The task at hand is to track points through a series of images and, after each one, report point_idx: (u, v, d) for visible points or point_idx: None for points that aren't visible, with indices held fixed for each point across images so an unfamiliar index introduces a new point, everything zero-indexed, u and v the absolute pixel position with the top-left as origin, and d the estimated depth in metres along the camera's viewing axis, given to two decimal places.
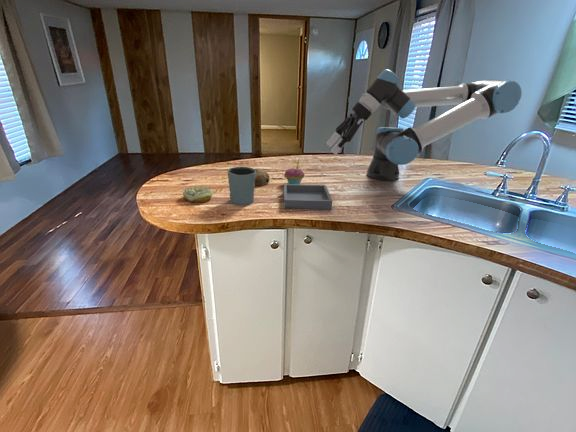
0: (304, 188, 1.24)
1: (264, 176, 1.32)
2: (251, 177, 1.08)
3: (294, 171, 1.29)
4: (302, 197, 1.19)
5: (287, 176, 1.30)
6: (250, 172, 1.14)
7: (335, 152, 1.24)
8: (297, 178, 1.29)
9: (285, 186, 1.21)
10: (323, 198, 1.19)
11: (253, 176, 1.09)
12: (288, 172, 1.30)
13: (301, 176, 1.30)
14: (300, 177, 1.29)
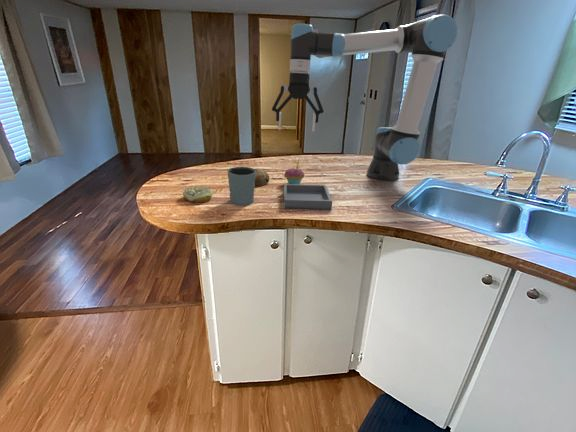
0: (304, 188, 1.24)
1: (264, 176, 1.32)
2: (251, 177, 1.08)
3: (294, 171, 1.29)
4: (302, 197, 1.19)
5: (287, 176, 1.30)
6: (250, 172, 1.14)
7: None
8: (297, 178, 1.29)
9: (285, 186, 1.21)
10: (323, 198, 1.19)
11: (253, 176, 1.09)
12: (288, 172, 1.30)
13: (301, 176, 1.30)
14: (300, 177, 1.29)
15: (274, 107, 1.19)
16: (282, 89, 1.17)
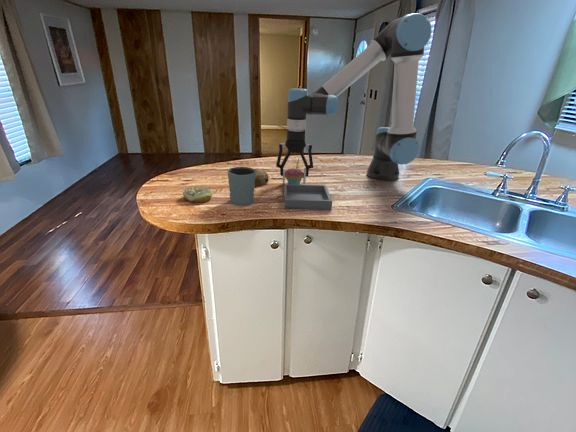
0: (304, 188, 1.24)
1: (263, 176, 1.32)
2: (251, 177, 1.08)
3: (293, 171, 1.29)
4: (302, 197, 1.19)
5: (287, 176, 1.30)
6: (250, 172, 1.14)
7: None
8: (297, 178, 1.29)
9: (285, 186, 1.21)
10: (323, 198, 1.19)
11: (253, 176, 1.09)
12: (288, 172, 1.30)
13: (301, 176, 1.30)
14: (300, 177, 1.29)
15: (278, 164, 1.29)
16: (280, 147, 1.26)
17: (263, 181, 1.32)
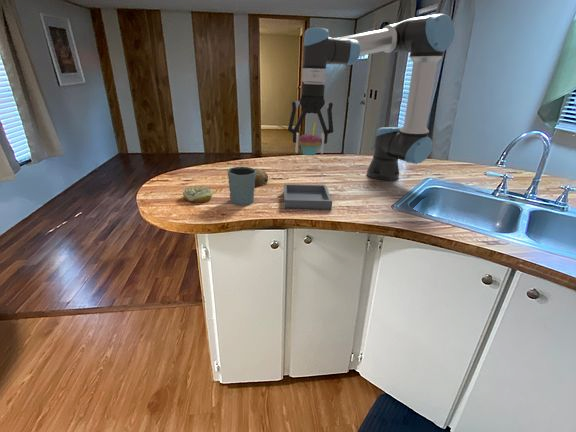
0: (304, 188, 1.24)
1: (263, 176, 1.32)
2: (251, 177, 1.08)
3: (309, 136, 1.06)
4: (302, 197, 1.19)
5: (301, 142, 1.06)
6: (250, 172, 1.14)
7: None
8: (313, 145, 1.05)
9: (285, 186, 1.21)
10: (323, 198, 1.19)
11: (253, 176, 1.09)
12: (302, 138, 1.06)
13: (318, 142, 1.06)
14: (317, 143, 1.06)
15: (290, 127, 1.05)
16: (294, 105, 1.02)
17: (262, 181, 1.32)
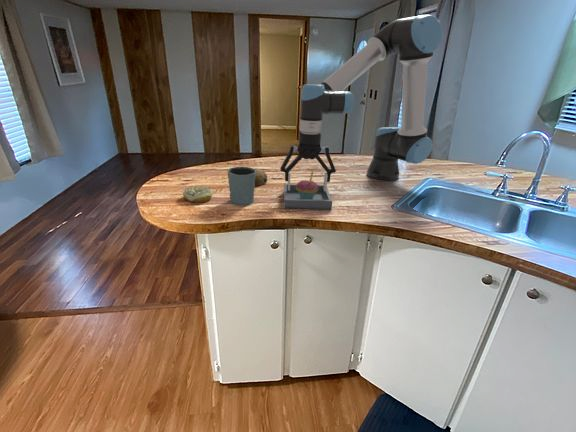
0: None
1: (262, 176, 1.32)
2: (251, 177, 1.08)
3: (307, 184, 1.13)
4: None
5: (299, 189, 1.13)
6: (250, 172, 1.14)
7: None
8: (311, 192, 1.12)
9: (285, 186, 1.21)
10: (323, 198, 1.19)
11: (253, 176, 1.09)
12: (300, 185, 1.13)
13: (315, 189, 1.13)
14: (314, 191, 1.13)
15: (283, 168, 1.11)
16: (291, 150, 1.09)
17: (262, 181, 1.32)
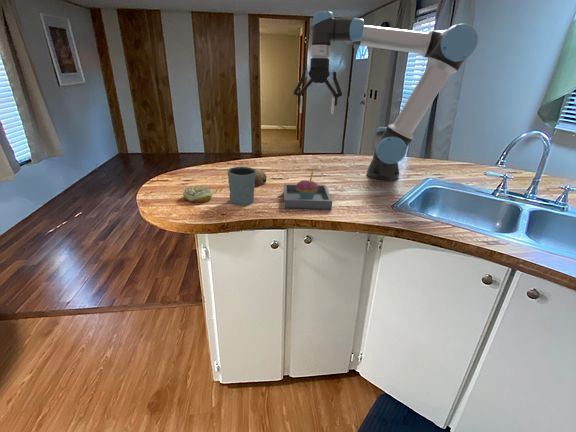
0: None
1: (261, 176, 1.32)
2: (251, 177, 1.08)
3: (307, 184, 1.13)
4: None
5: (299, 189, 1.13)
6: (250, 172, 1.14)
7: None
8: (311, 192, 1.12)
9: (285, 186, 1.21)
10: (323, 198, 1.19)
11: (253, 176, 1.09)
12: (300, 185, 1.13)
13: (315, 189, 1.13)
14: (314, 191, 1.13)
15: (296, 91, 1.27)
16: (304, 74, 1.25)
17: (261, 181, 1.32)
